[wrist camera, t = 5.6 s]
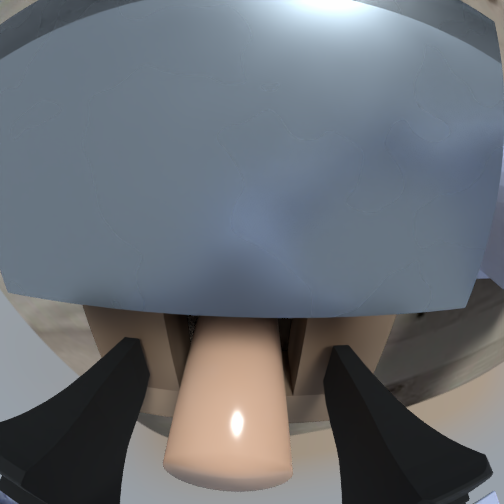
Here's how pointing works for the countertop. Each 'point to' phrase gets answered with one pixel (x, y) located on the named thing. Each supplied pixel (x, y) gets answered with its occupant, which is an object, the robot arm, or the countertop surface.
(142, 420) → the countertop surface
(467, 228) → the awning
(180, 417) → the peg
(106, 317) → the socket block
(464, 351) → the countertop surface
